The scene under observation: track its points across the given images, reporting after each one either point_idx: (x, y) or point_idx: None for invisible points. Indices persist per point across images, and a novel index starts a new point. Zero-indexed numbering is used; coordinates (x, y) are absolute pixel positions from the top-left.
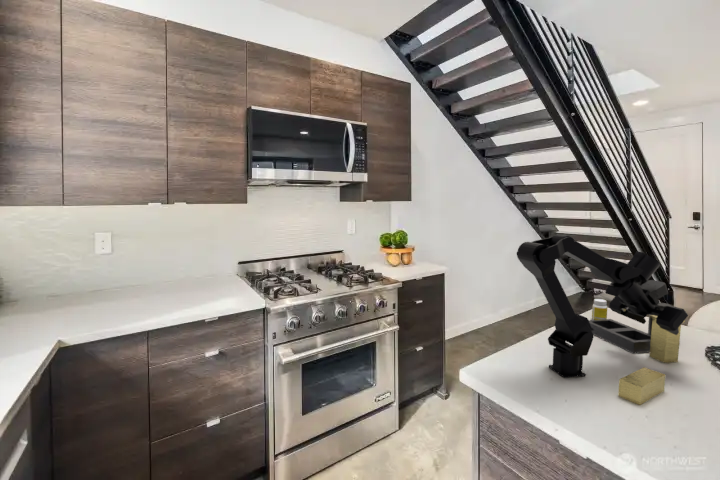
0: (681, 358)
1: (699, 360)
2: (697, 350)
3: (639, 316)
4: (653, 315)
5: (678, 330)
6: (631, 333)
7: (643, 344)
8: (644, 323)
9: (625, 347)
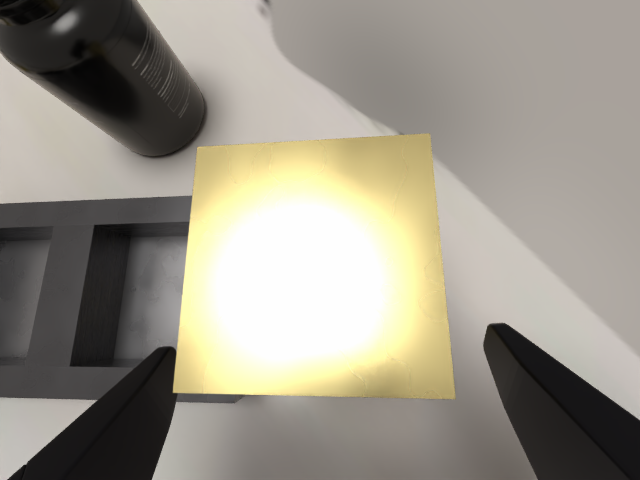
0: None
1: None
2: (287, 76)
3: (115, 468)
4: (193, 343)
5: (534, 346)
6: (105, 247)
7: None
8: None
9: None
